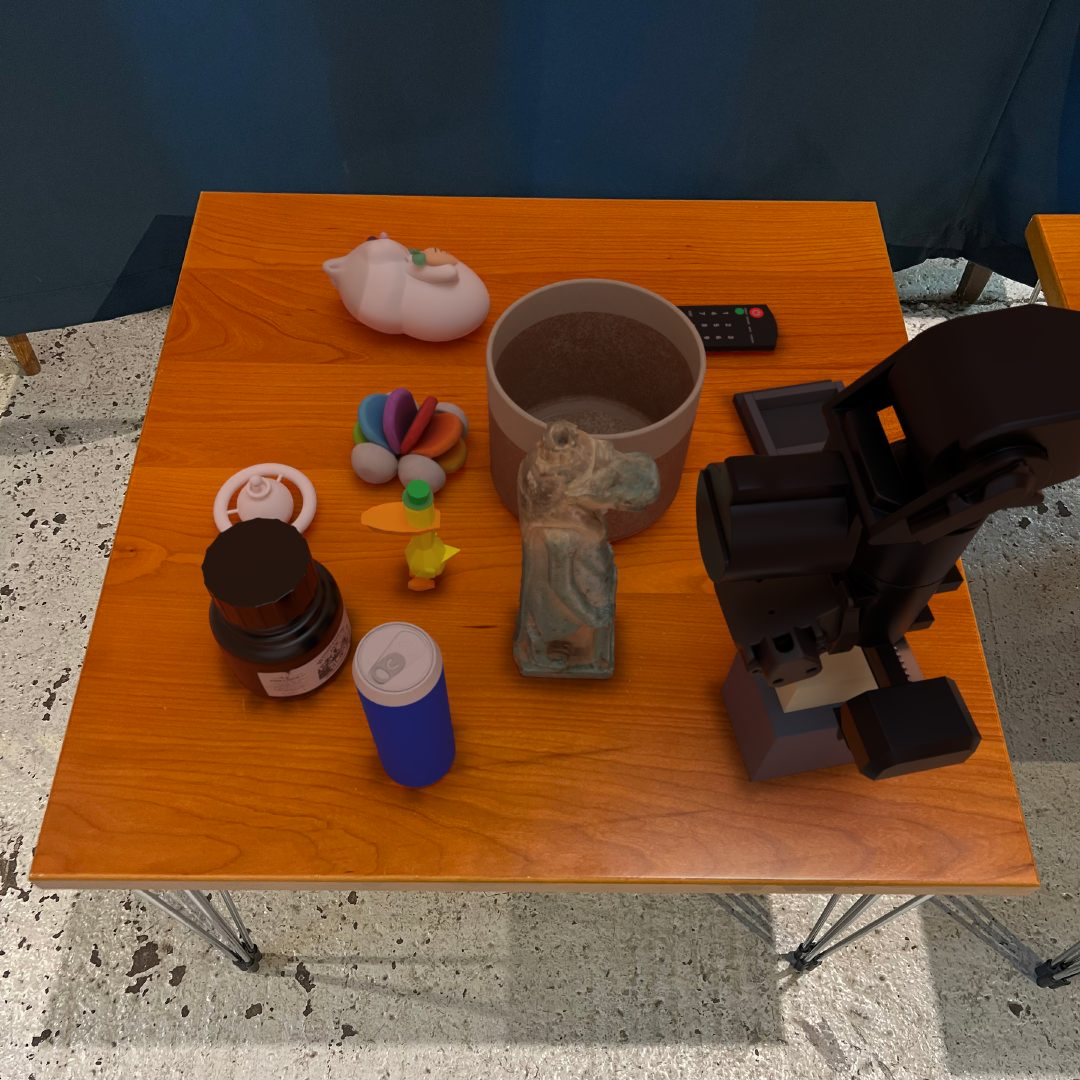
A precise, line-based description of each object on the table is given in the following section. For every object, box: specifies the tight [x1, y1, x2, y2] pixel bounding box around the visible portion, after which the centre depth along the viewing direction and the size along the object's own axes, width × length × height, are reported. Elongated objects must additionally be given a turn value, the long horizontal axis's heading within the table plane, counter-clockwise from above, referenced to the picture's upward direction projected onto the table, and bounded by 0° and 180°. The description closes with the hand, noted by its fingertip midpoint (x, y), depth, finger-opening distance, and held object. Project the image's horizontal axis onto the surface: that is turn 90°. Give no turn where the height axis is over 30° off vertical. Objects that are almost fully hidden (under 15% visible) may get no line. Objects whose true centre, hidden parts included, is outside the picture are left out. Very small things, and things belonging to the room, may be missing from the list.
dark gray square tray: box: [732, 379, 847, 456], centre depth 83 cm, size 9×10×2 cm
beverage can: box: [351, 621, 456, 788], centre depth 61 cm, size 5×5×15 cm
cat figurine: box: [321, 231, 491, 343], centre depth 87 cm, size 10×8×15 cm
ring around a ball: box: [212, 462, 318, 535], centre depth 76 cm, size 8×6×8 cm
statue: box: [512, 420, 661, 680], centre depth 62 cm, size 7×8×25 cm
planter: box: [485, 277, 707, 543], centre depth 75 cm, size 16×16×14 cm
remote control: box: [675, 303, 779, 353], centre depth 89 cm, size 5×24×1 cm, turn 92°
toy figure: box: [360, 479, 461, 592], centre depth 70 cm, size 7×4×12 cm, turn 91°
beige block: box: [775, 646, 878, 713], centre depth 61 cm, size 6×4×4 cm, turn 102°
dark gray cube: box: [720, 651, 855, 783], centre depth 66 cm, size 8×7×8 cm
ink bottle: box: [200, 517, 353, 701], centre depth 67 cm, size 10×9×12 cm
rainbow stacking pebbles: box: [350, 387, 470, 494], centre depth 79 cm, size 8×10×7 cm
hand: (819, 674), depth 62 cm, fingers open, 8 cm apart
